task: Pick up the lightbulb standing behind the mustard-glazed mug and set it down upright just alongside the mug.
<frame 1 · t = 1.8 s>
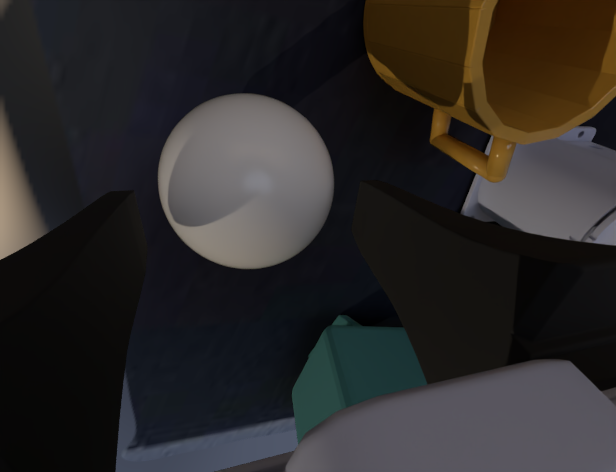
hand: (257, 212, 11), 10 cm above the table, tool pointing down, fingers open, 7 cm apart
radio: (422, 339, 38), on the table
lightbulb: (232, 122, 19), on the table
mug: (432, 13, 18), on the table
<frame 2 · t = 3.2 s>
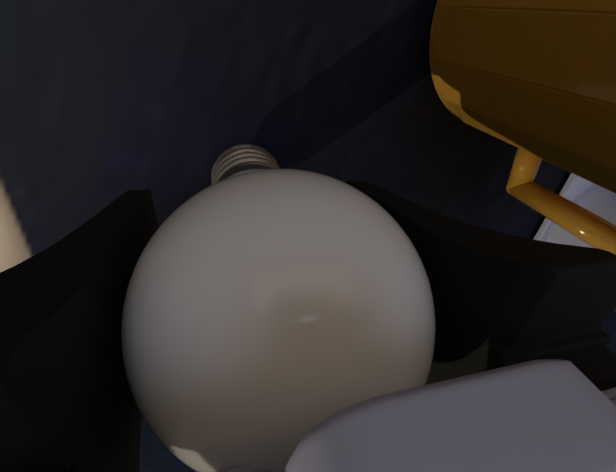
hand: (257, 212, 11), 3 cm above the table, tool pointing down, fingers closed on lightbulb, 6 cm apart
lightbulb: (244, 168, 14), on the table, touching gripper
mug: (523, 19, 13), on the table
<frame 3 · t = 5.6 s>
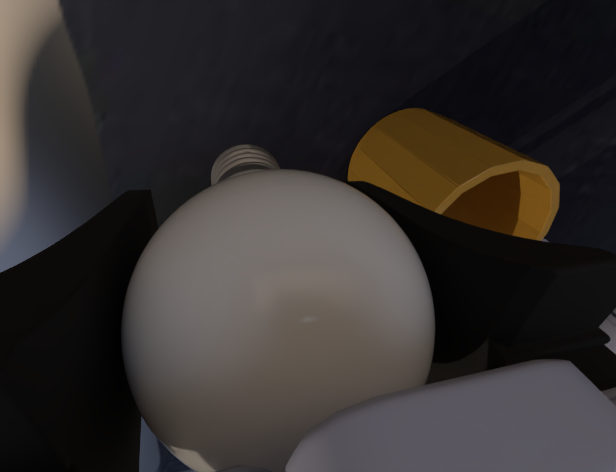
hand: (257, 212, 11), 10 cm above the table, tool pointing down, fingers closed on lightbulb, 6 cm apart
lightbulb: (244, 168, 14), point 7 cm above the table, touching gripper
mug: (401, 166, 24), on the table
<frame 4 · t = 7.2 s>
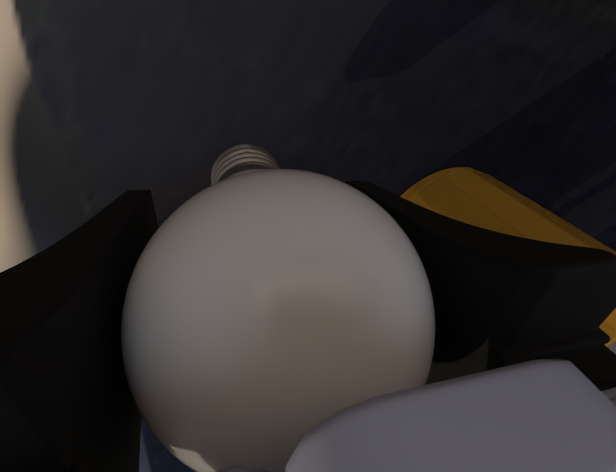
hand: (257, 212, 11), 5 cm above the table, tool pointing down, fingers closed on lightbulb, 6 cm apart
lightbulb: (244, 168, 14), point 1 cm above the table, touching gripper
mug: (436, 227, 21), on the table
when the fingers open (3 cm above the table, at t = 8.4 s): lightbulb stays where it is, on the table.
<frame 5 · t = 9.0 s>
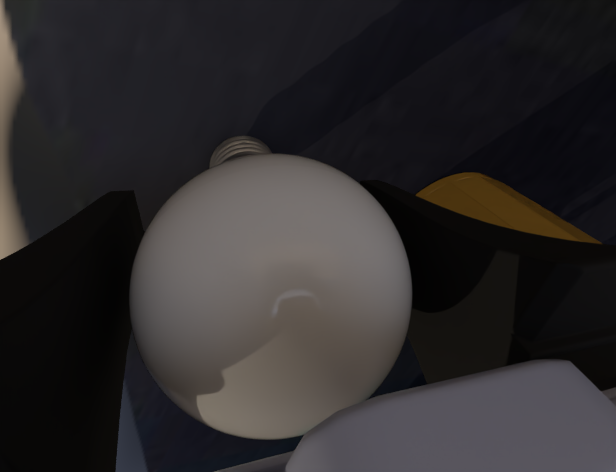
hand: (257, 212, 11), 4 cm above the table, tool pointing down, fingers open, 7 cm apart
lightbulb: (241, 159, 14), on the table
mug: (443, 234, 20), on the table
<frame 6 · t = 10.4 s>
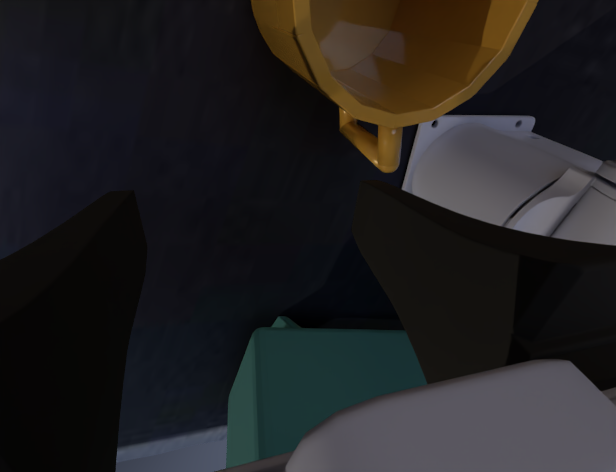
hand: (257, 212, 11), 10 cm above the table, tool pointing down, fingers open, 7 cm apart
radio: (376, 340, 36), on the table
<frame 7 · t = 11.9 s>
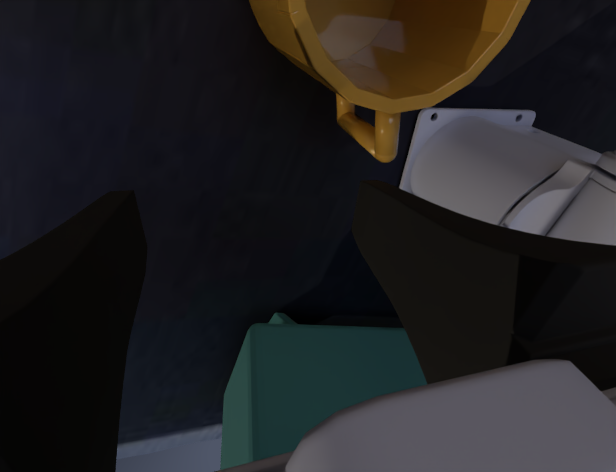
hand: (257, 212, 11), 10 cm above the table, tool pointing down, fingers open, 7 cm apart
radio: (374, 338, 36), on the table
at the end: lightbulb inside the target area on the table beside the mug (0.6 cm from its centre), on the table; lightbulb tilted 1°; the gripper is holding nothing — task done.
